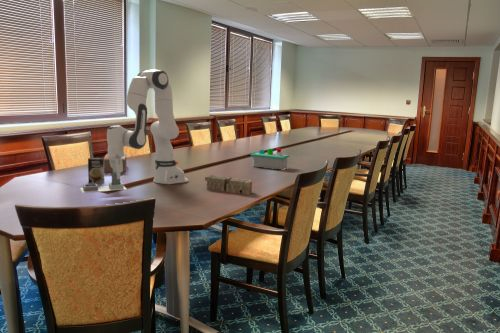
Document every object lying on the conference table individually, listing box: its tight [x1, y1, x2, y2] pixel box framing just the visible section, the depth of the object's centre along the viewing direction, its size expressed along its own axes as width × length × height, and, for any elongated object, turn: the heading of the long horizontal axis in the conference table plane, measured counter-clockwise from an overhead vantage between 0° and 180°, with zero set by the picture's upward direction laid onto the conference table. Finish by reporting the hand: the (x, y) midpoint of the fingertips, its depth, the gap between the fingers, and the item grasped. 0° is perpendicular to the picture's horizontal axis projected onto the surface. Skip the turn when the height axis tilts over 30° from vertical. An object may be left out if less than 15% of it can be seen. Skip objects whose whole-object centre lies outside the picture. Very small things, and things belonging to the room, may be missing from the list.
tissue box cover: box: [103, 153, 127, 174], centre depth 300 cm, size 26×14×10 cm, turn 14°
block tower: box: [204, 174, 253, 195], centre depth 250 cm, size 8×8×29 cm
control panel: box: [250, 147, 291, 170], centre depth 332 cm, size 15×17×30 cm
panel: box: [80, 181, 127, 194], centre depth 237 cm, size 24×12×4 cm, turn 118°
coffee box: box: [87, 157, 105, 184], centre depth 253 cm, size 9×6×16 cm
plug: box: [111, 172, 121, 185], centre depth 240 cm, size 4×4×9 cm
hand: (116, 177), depth 240 cm, fingers open, 8 cm apart
